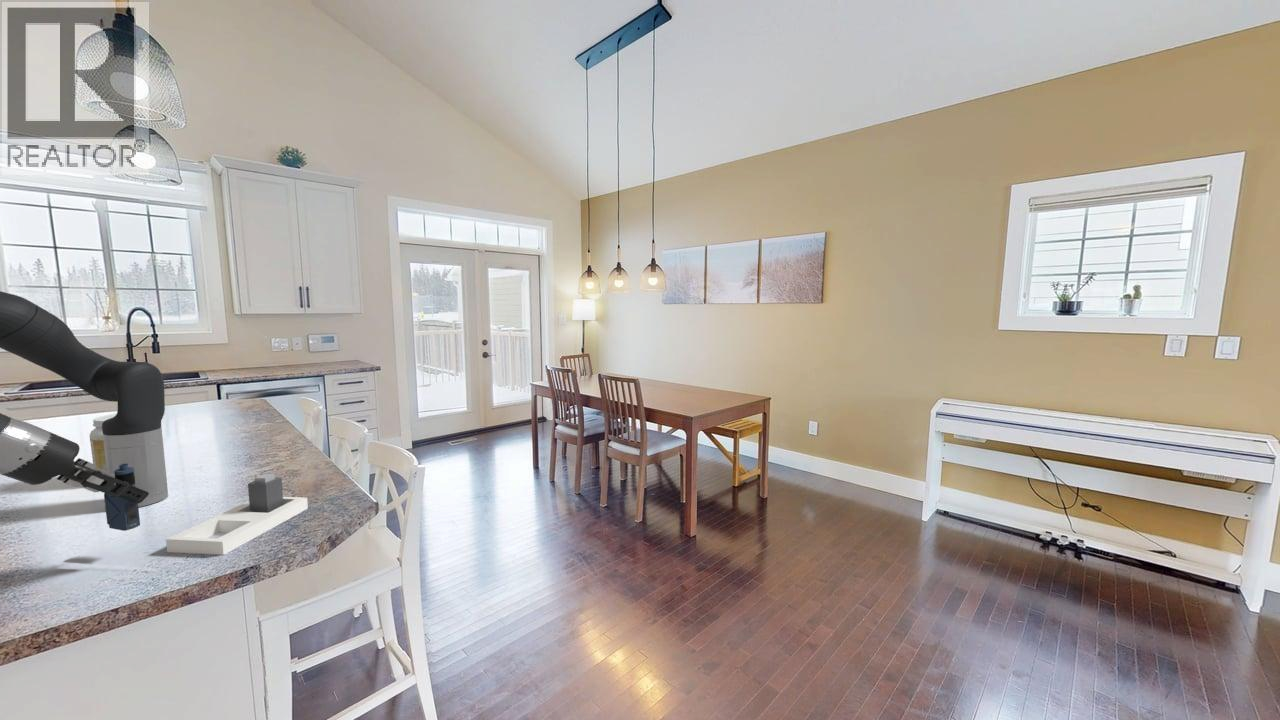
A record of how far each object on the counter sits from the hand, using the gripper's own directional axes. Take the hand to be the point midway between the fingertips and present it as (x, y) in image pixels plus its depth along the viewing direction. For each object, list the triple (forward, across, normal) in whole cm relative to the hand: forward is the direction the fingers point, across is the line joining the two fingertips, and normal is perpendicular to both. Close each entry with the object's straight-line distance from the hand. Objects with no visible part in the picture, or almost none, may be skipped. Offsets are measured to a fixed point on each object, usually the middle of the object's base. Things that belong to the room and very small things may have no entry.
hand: (135, 494), depth 85 cm
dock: (+17, +8, +1) cm, 19 cm away
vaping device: (+3, 0, -5) cm, 6 cm away
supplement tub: (+23, -55, +2) cm, 60 cm away
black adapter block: (+20, +6, +5) cm, 22 cm away
